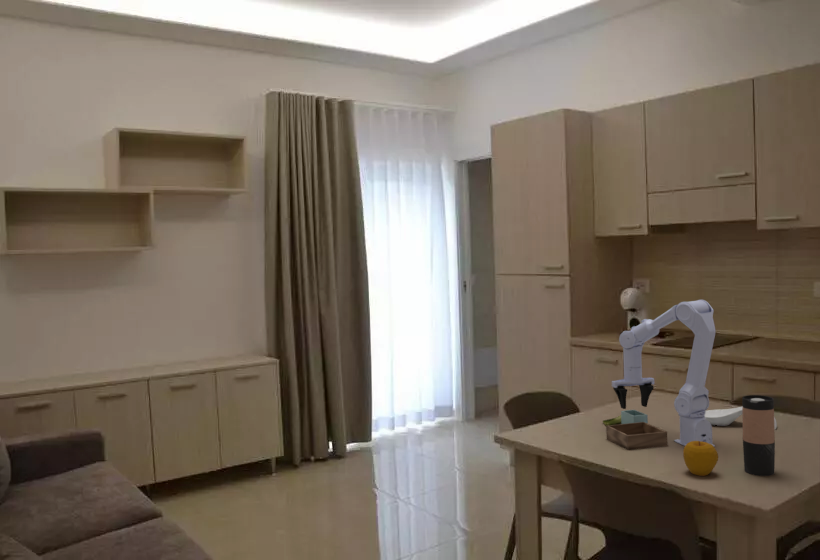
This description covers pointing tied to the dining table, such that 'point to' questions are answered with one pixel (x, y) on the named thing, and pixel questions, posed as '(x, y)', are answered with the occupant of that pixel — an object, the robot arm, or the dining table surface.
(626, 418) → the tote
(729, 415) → the spoon rest
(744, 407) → the travel mug
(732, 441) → the dining table surface
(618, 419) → the fennel bulb
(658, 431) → the crate
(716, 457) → the apple
